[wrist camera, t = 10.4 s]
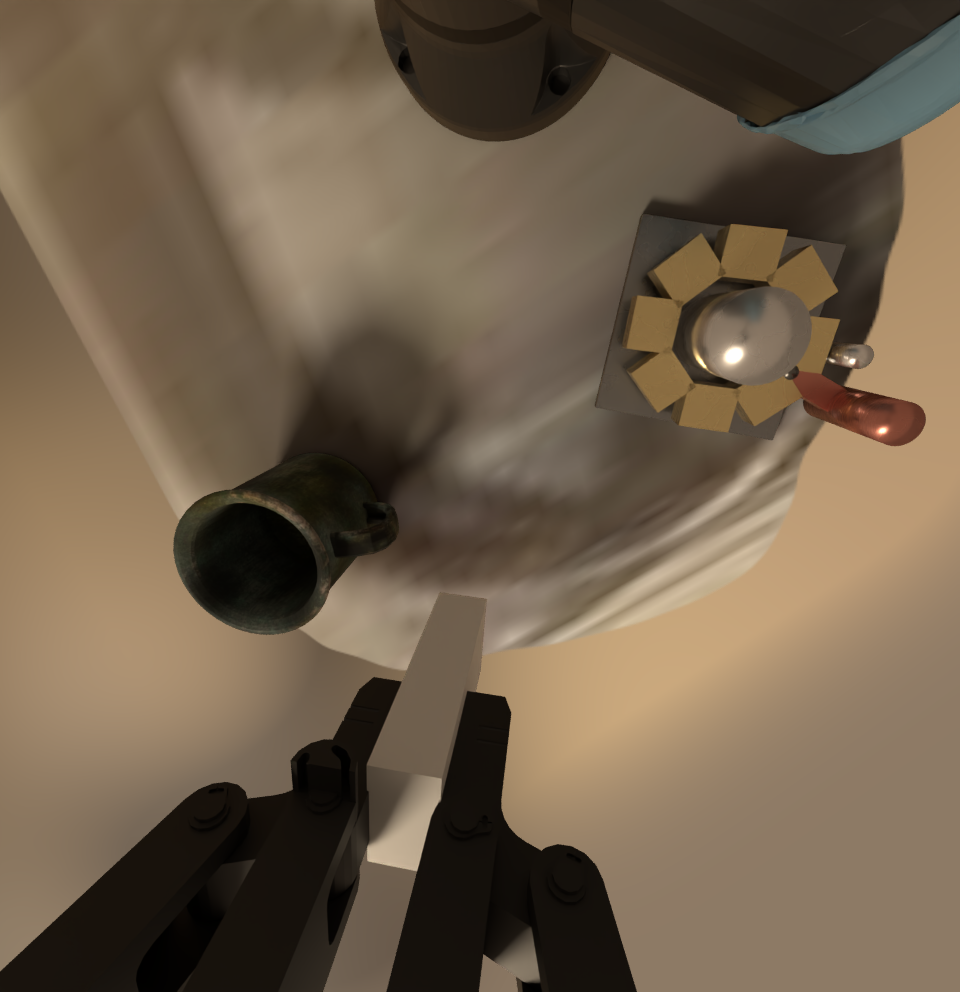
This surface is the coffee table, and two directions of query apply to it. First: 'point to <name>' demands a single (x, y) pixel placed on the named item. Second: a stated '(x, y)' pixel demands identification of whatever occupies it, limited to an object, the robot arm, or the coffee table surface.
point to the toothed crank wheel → (713, 405)
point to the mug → (280, 542)
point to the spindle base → (640, 284)
